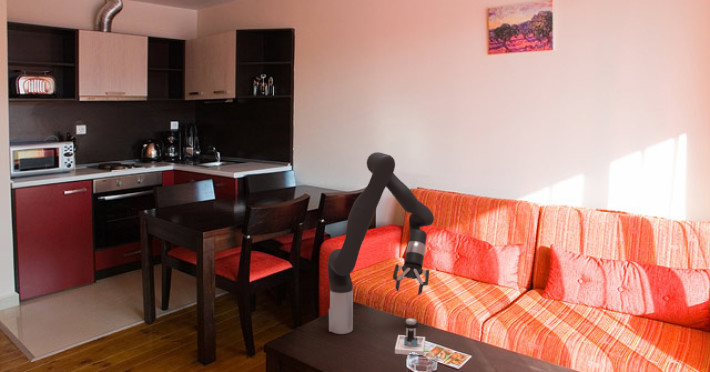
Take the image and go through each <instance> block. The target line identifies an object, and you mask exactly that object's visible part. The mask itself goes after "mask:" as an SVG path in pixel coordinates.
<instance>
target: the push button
mask: <svg viewBox="0 0 710 372" xmlns="http://www.w3.org/2000/svg"><path fill="white" fill-rule="evenodd" d="M403 323H404V328H406V329H405V331H406V332H405V336H406V337H405V339H404V345H408V346H414V347H416V346H417V345H421V344H417V343H419V342H418V338H416V334H417V333H416V332H417V328H418V327H419V322H418V320H416V319H415V318H411V317H410V318H409V317H408V318H406V320H404V321H403ZM420 343H421V342H420Z"/></svg>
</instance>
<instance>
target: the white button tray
mask: <svg viewBox="0 0 710 372" xmlns="http://www.w3.org/2000/svg"><path fill="white" fill-rule="evenodd" d="M405 337H406V334H405V335H404V334H403V335H402V334H398V335H397V338H396V343H395V347H394V354H395V355H407V356H409V355H408V354H409V353H412V352H415V353H417V354H419V355H423V356H424V353H425V344H426V336H416V338H418V342H419V343H417V344H421V345H417V346H416V347H414V346H408V345H404V339H405ZM420 342H421V343H420Z"/></svg>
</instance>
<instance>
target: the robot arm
mask: <svg viewBox="0 0 710 372" xmlns="http://www.w3.org/2000/svg"><path fill="white" fill-rule="evenodd" d="M366 167H367V169H368V171H369V173H371V177H370V179H369V181H368V184H367V186H366V187H365V188H364V190H363V191H362V192H361V193H360V194H359V195H358V196H357V198H356V199H355V201H354V202H353V205H352V206H351V209H350V211H349V214H348V218H347V222H346V229H345V230H346V231H345V237H344V240H343V244H342V246H341V247H340V248H336V249H333V250H332V251H331V253H330V254H329V256H328V258H327V259H328V260H327V273H328V274H327V276H328V279H327V280H328V284H329V308H328V332H329V333H330V332H331V333H334V334H336V335H337V334H338V335H345V334H349V333H351V332H352V331H353V330H354V329H353V328H354V327H353V326H354V325H353V324H354V322H353V321H354V319H353V318H354V314H353V313H354V309H353V308H354V306H353V305H354V301H353V300H354V299H353V297H354V296H353V295H354V294H353V293H354V288H353V287H354V284H353V280H352V278H351V273H352V272H353V271H354V270H355V267H356V264H357V261H358V258H359V254H360V250H361V247H362V244H363V242H364V240H365V238H366V236H367V233H368V230H369V228H370V225H371V223H372V221H373V218H374V215H375V213H376V210H377V209H378V208H377V207H378V206H379V203H380V201H381V198H382V196H383V194H384V190H385V189H386V188H387V189H388V191H389V192H390V193H391V194H392V196H393V197H394V198H395V199H396V201H397V203H398V204H399V205H400V206H401V208H402V209H403V210H404V211H405V212H406V213H408V214H410V215H409V216H408V225H409V239H408V244H407V247H406V251H405V257H404V262H403V265H399V264H398V263H397V264H395V266H394V271H393V275H392V279H393V280H394V281H395V290H396V291H397V292H399V291H400V287H401V281H402V280H404V279H405V278H407V279H412V280H417V282H418V284H419V285H418V290H417V291H418V292H417V295H419V296H420V295H422V294H423V293H422V292H423V289H424V286H425V287H427V286H428V285H429V279H430V269H426V270H425V269H423V265H424V259H425V255H426V254H425V253H426V244H427V243H426V242H427V235H428V234H427V232H426V231H425V230H422V229H421V228H423V227H428V226H431V225H432V224H433V223H434V221H435V216H434V213H433V211H432V210H431V209H430V208H429V207H428V206H426V204H424V203H423V202H421V201H419V200H418V198H417V197H416V195H415V194H414V193H413V192H412V190H411V189H410V188H409V187H408V186H407V185H406V184H405V183H404V182H403V181H402V180H401V179H399V177H398V176H397V175H396V174H395V173H394V172H395V167H396V162H395V159H394V157H393V156H392V155H390V154H387V153H383V152H378V151H377V152H373V153H371V154H369V156H368V157H367V159H366ZM401 270H402V273H401V274H400V275H399V276H398V273H399V272H400V271H401ZM422 274H423V275H424V276H425V280H424V281H423V280H422V277H421V275H422Z"/></svg>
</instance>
